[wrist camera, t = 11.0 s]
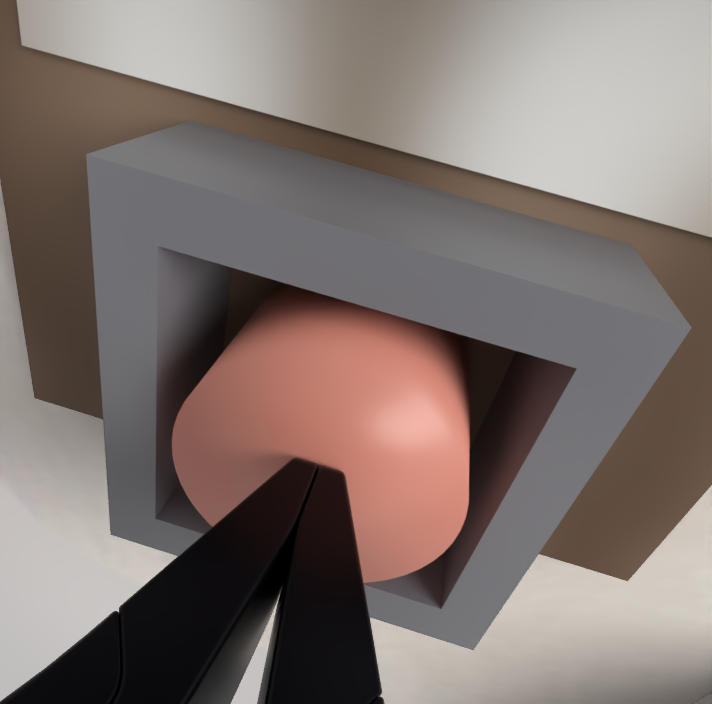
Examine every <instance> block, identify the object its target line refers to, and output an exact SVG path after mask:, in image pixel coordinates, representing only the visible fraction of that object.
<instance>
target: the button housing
mask: <svg viewBox="0 0 712 704" xmlns="http://www.w3.org/2000/svg"><path fill="white" fill-rule="evenodd" d="M86 159H87V174H88V190H89V205H90V221H91V236H92V252H93V267H94V283H95V298H96V314H97V329H98V345H99V360H100V376H101V391H102V407H103V422H104V438H105V453H106V469H107V484H108V500H109V515H110V531H111V535H114V536H117V537H120V538H123V539H126V540H129V541H133V542H136V543H139V544H142V545H145V546H148V547H151V548H155V549H158V550H161V551H164V552H167V553H170V554H173V555H177V556H179V555H180V554H181V553H183V552H184V551H185V550H186V549H187V548H188V547H190V546H191V545H192V544H193V543H194V542H195V541H197V540H198V539H199V538H200V537H201V536H202V535H204V534H205V533H206V532H207V531H208V530H209V529H211V528H212V526H211V525H210V524H209V523H208V522H207V521H206V520H205V519H204V518H203V517H202V515H201V514H200V513H199V512H198V511H197V510H196V508H195V507H194V505H193V504H192V502H191V501H190V499H189V498H188V497H187V495H186V493H185V491H184V489H183V487H182V485H181V483H180V481H179V478H178V475H177V473H176V470H175V465H174V461H173V456H172V435H173V427H174V424H175V421H176V418H177V415H178V413H179V411H180V409H181V407H182V405H183V403H184V402H185V400H186V399H187V398H188V396H189V395H190V394H191V393H192V391H193V390H194V389H195V387H196V386H197V385H198V384H199V382H200V381H201V380H202V378H203V377H204V376H205V375H206V373H207V372H208V371H209V369H210V368H211V367H212V366H213V364H214V363H215V362H216V361H217V359H218V358H219V357H220V355H221V354H222V353H223V350H224V339H225V329H226V318H227V308H228V297H229V287H230V277H231V268H235V269H238V270H242V271H245V272H248V273H252V274H255V275H259V276H262V277H265V278H269V279H272V280H276V281H279V282H283V283H286V284H289V285H293V286H296V287H300V288H303V289H306V290H310V291H313V292H317V293H320V294H324V295H327V296H330V297H334V298H337V299H341V300H344V301H347V302H351V303H354V304H358V305H361V306H365V307H368V308H371V309H375V310H378V311H382V312H385V313H388V314H392V315H395V316H399V317H402V318H406V319H409V320H412V321H416V322H419V323H423V324H426V325H430V326H433V327H436V328H440V329H443V330H447V331H450V332H453V333H457V334H460V335H464V336H467V337H471V338H474V339H477V340H481V341H484V342H488V343H491V344H494V345H498V346H501V347H505V348H508V349H512V350H515V351H516V353H515V355H514V358H513V360H512V362H511V364H510V366H509V368H508V370H507V372H506V374H505V377H504V379H503V381H502V383H501V385H500V387H499V389H498V391H497V393H496V396H495V398H494V400H493V402H492V404H491V406H490V408H489V410H488V413H487V415H486V417H485V419H484V421H483V423H482V425H481V427H480V429H479V432H478V434H477V436H476V438H475V440H474V442H473V444H472V446H471V448H470V451H469V505H468V510H467V515H466V519H465V521H464V524H463V526H462V529H461V531H460V533H459V534H458V536H457V537H456V539H455V540H454V542H453V543H452V544H451V545H450V546H449V548H448V549H447V550H446V551H445V552H444V553H443V554H442V555H440V556H439V557H438V558H436V559H435V560H434V561H433V562H431V563H429V564H428V565H426V566H424V567H422V568H421V569H419V570H416V571H414V572H411V573H409V574H407V575H404V576H400V577H397V578H393V579H389V580H383V581H377V582H366V583H364V588H365V594H366V600H367V606H368V611H369V617H371V618H374V619H377V620H380V621H384V622H387V623H390V624H393V625H396V626H399V627H402V628H406V629H409V630H412V631H415V632H418V633H421V634H424V635H428V636H431V637H434V638H437V639H440V640H443V641H446V642H449V643H453V644H456V645H459V646H462V647H465V648H468V649H471V650H474V648H475V647H476V645H477V644H478V642H479V641H480V639H481V638H482V636H483V635H484V634H485V632H486V631H487V629H488V628H489V626H490V625H491V623H492V622H493V620H494V619H495V617H496V616H497V614H498V613H499V611H500V610H501V608H502V607H503V605H504V604H505V603H506V601H507V600H508V598H509V597H510V595H511V594H512V592H513V591H514V589H515V588H516V586H517V585H518V583H519V582H520V580H521V579H522V577H523V576H524V574H525V573H526V572H527V570H528V569H529V567H530V566H531V564H532V563H533V561H534V560H535V558H536V557H537V555H538V554H539V552H540V551H541V549H542V548H543V546H544V545H545V544H546V542H547V541H548V539H549V538H550V536H551V535H552V533H553V532H554V530H555V529H556V527H557V526H558V524H559V523H560V521H561V520H562V518H563V517H564V515H565V514H566V513H567V511H568V510H569V508H570V507H571V505H572V504H573V502H574V501H575V499H576V498H577V496H578V495H579V493H580V492H581V490H582V489H583V487H584V486H585V484H586V483H587V482H588V480H589V479H590V477H591V476H592V474H593V473H594V471H595V470H596V468H597V467H598V465H599V464H600V462H601V461H602V459H603V458H604V456H605V455H606V454H607V452H608V451H609V449H610V448H611V446H612V445H613V443H614V442H615V440H616V439H617V437H618V436H619V434H620V433H621V431H622V430H623V428H624V427H625V425H626V424H627V423H628V421H629V420H630V418H631V417H632V415H633V414H634V412H635V411H636V409H637V408H638V406H639V405H640V403H641V402H642V400H643V399H644V397H645V396H646V394H647V393H648V392H649V390H650V389H651V387H652V386H653V384H654V383H655V381H656V380H657V378H658V377H659V375H660V374H661V372H662V371H663V369H664V368H665V366H666V365H667V364H668V362H669V361H670V359H671V358H672V356H673V355H674V353H675V352H676V350H677V349H678V347H679V346H680V344H681V343H682V341H683V340H684V338H685V337H686V335H687V334H688V333H689V331H690V330H691V328H692V327H691V326H690V325H689V323H688V322H687V320H686V319H685V318H684V316H683V315H682V313H681V312H680V311H679V309H678V308H677V307H676V305H675V304H674V302H673V301H672V300H671V298H670V297H669V295H668V294H667V293H666V291H665V290H664V289H663V287H662V286H661V284H660V283H659V282H658V280H657V279H656V277H655V276H654V275H653V273H652V272H651V271H650V269H649V268H648V266H647V265H646V264H645V262H644V261H643V260H642V258H641V257H640V255H639V254H638V253H637V251H636V250H635V248H634V247H633V246H632V244H629V243H625V242H621V241H618V240H614V239H611V238H607V237H604V236H600V235H597V234H593V233H589V232H586V231H582V230H579V229H575V228H572V227H568V226H565V225H561V224H557V223H554V222H550V221H547V220H543V219H540V218H536V217H533V216H529V215H525V214H522V213H518V212H515V211H511V210H508V209H504V208H500V207H497V206H493V205H490V204H486V203H483V202H479V201H476V200H472V199H468V198H465V197H461V196H458V195H454V194H451V193H447V192H444V191H440V190H436V189H433V188H429V187H426V186H422V185H419V184H415V183H411V182H408V181H404V180H401V179H397V178H394V177H390V176H387V175H383V174H379V173H376V172H372V171H369V170H365V169H362V168H358V167H355V166H351V165H347V164H344V163H340V162H337V161H333V160H330V159H326V158H323V157H319V156H315V155H312V154H308V153H305V152H301V151H298V150H294V149H290V148H287V147H283V146H280V145H276V144H273V143H269V142H266V141H262V140H258V139H255V138H251V137H248V136H244V135H241V134H237V133H234V132H230V131H226V130H223V129H219V128H216V127H212V126H209V125H205V124H201V123H198V122H194V121H187V122H184V123H181V124H178V125H175V126H172V127H169V128H166V129H163V130H160V131H156V132H153V133H150V134H147V135H144V136H141V137H138V138H135V139H132V140H129V141H126V142H122V143H119V144H116V145H113V146H110V147H107V148H104V149H101V150H98V151H95V152H92V153H88V154H86Z"/></svg>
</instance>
